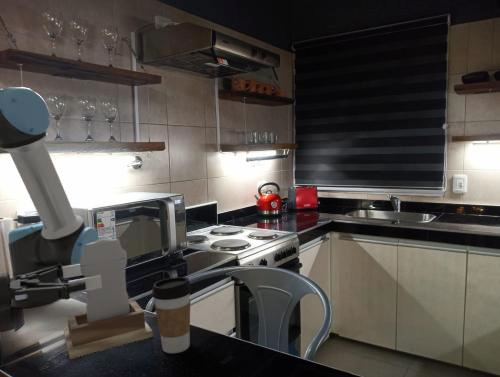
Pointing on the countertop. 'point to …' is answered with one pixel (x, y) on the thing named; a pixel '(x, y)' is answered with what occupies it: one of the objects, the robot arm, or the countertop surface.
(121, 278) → the tall pale column
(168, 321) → the coffee cup
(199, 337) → the countertop surface
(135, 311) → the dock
